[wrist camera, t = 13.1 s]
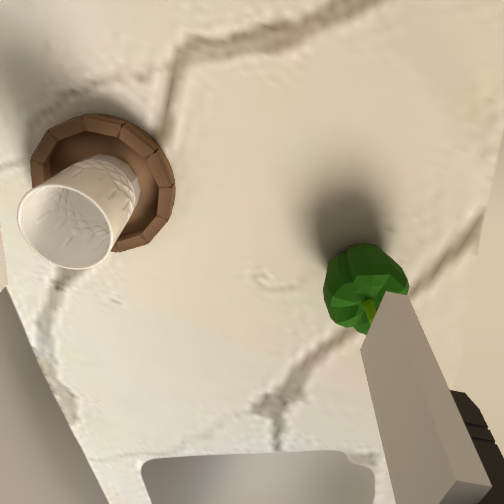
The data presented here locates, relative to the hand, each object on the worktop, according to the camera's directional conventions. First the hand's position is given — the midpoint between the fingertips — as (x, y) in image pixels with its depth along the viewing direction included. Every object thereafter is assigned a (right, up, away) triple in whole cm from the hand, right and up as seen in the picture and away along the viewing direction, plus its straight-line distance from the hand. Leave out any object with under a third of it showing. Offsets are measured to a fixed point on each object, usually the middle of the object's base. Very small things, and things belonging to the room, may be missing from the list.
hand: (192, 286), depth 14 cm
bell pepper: (+14, 0, +33) cm, 35 cm away
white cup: (-13, +8, +29) cm, 32 cm away
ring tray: (-13, +8, +29) cm, 33 cm away
